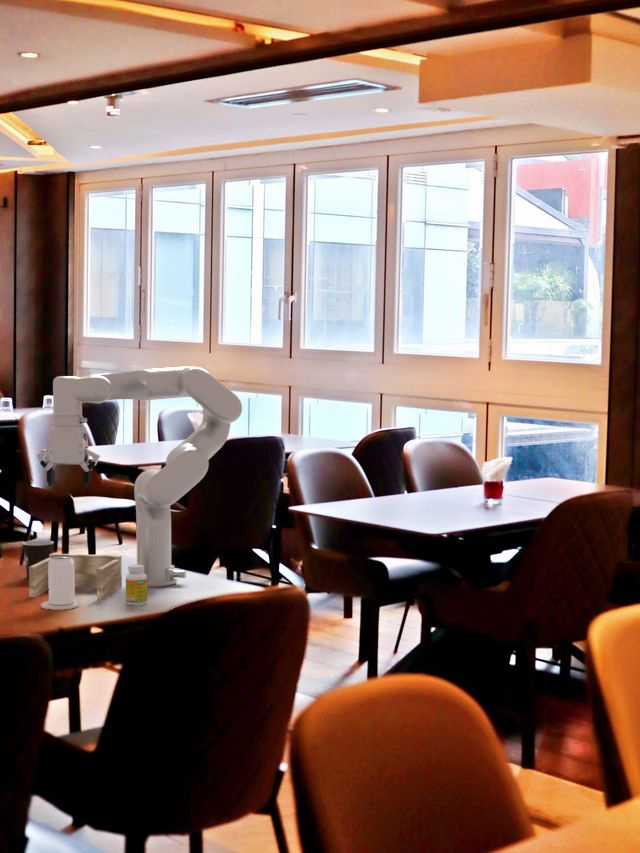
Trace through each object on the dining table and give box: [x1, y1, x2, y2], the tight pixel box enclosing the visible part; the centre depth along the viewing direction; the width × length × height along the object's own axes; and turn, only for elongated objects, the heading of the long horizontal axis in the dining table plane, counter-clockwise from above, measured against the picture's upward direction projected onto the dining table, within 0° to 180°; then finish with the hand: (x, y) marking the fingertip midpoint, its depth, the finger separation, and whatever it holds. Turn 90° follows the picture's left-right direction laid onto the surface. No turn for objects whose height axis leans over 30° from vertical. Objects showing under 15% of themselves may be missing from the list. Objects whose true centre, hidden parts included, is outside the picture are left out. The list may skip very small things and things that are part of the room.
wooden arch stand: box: [28, 553, 123, 600], centre depth 324 cm, size 20×16×9 cm
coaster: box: [40, 599, 82, 611], centre depth 308 cm, size 10×10×1 cm
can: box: [48, 555, 76, 606], centre depth 308 cm, size 6×6×12 cm
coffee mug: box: [22, 539, 55, 580], centre depth 346 cm, size 12×9×10 cm
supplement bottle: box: [125, 564, 148, 606], centre depth 311 cm, size 5×5×10 cm
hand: (68, 485), depth 327 cm, fingers open, 9 cm apart
